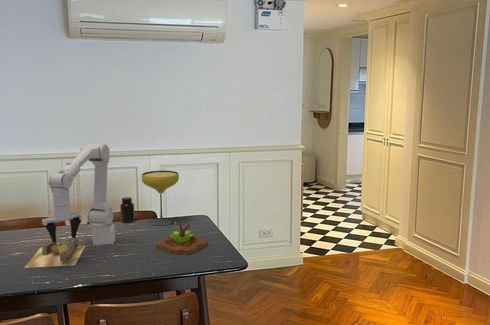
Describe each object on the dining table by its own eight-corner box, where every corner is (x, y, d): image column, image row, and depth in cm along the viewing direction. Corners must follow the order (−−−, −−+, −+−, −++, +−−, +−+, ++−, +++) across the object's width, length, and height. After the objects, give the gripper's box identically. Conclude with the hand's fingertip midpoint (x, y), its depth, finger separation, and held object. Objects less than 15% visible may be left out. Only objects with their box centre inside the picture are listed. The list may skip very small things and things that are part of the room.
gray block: (56, 250, 193) (56, 241, 192) (46, 255, 187) (46, 245, 187) (52, 250, 194) (52, 240, 193) (42, 255, 188) (41, 245, 187)
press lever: (70, 245, 197) (69, 229, 196) (79, 244, 197) (78, 228, 196) (57, 261, 178) (56, 244, 177) (67, 261, 178) (66, 243, 177)
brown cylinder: (63, 251, 192) (63, 244, 191) (61, 255, 188) (60, 248, 187) (53, 252, 191) (52, 245, 191) (50, 255, 187) (50, 248, 187)
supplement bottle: (129, 218, 244) (128, 196, 242) (137, 220, 240) (136, 197, 238) (118, 221, 239) (117, 198, 237) (126, 223, 235) (125, 200, 233)
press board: (85, 247, 200) (85, 245, 199) (74, 267, 178) (74, 265, 177) (40, 249, 197) (40, 247, 197) (24, 270, 175) (24, 267, 175)
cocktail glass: (144, 229, 226) (143, 177, 222) (141, 219, 243) (140, 171, 239) (182, 226, 231) (181, 176, 227) (177, 216, 248) (175, 169, 244)
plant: (177, 237, 215) (176, 213, 214) (213, 243, 206) (213, 219, 204) (148, 250, 198) (147, 224, 196) (186, 258, 189) (185, 231, 187)
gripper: (75, 199, 184) (77, 233, 186) (37, 206, 174) (40, 241, 176) (84, 202, 179) (85, 237, 181) (45, 209, 169) (48, 246, 171)
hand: (64, 239), depth 178 cm, fingers open, 7 cm apart
